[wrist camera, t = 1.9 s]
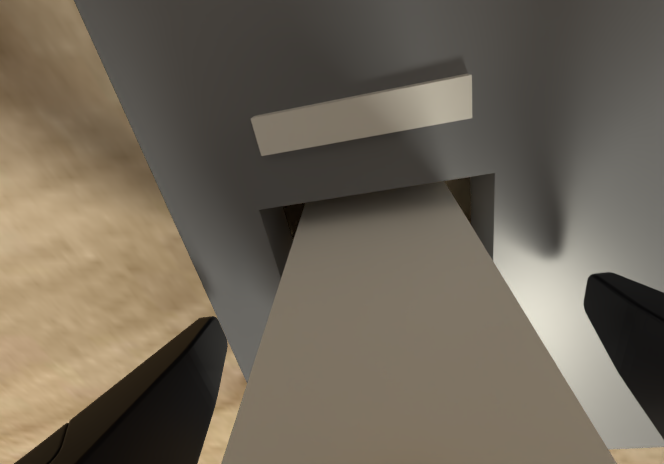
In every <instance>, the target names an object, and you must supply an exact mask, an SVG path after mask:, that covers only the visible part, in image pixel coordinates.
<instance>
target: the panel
mask: <svg viewBox="0 0 664 464" xmlns="http://www.w3.org/2000/svg"><path fill="white" fill-rule="evenodd" d="M74 2H75V4H76V6H77V8H78V10H79V13H80V15H81V17H82V19H83V21H84V24H85V26H86V28H87V30H88V32H89V35H90V37H91V39H92V41H93V44H94V46H95V48H96V50H97V52H98V55H99V57H100V59H101V61H102V63H103V66H104V68H105V70H106V72H107V74H108V77H109V79H110V81H111V83H112V86H113V88H114V90H115V92H116V94H117V97H118V99H119V101H120V103H121V105H122V108H123V110H124V112H125V114H126V116H127V119H128V121H129V123H130V125H131V128H132V130H133V132H134V134H135V136H136V139H137V141H138V143H139V145H140V147H141V150H142V152H143V154H144V156H145V158H146V161H147V163H148V165H149V167H150V170H151V172H152V174H153V176H154V178H155V181H156V183H157V185H158V187H159V189H160V192H161V194H162V196H163V198H164V200H165V203H166V205H167V207H168V209H169V212H170V214H171V216H172V218H173V220H174V223H175V225H176V227H177V229H178V231H179V234H180V236H181V238H182V240H183V242H184V245H185V247H186V249H187V251H188V253H189V256H190V258H191V260H192V262H193V265H194V267H195V269H196V271H197V273H198V276H199V278H200V280H201V282H202V284H203V287H204V289H205V291H206V293H207V295H208V298H209V300H210V302H211V304H212V307H213V309H214V311H215V313H216V315H217V318H218V320H219V322H220V324H221V326H222V329H223V331H224V333H225V335H226V337H227V340H228V342H229V344H230V346H231V349H232V351H233V353H234V355H235V357H236V360H237V362H238V364H239V366H240V368H241V371H242V373H243V375H244V377H245V379H246V382H247V383H248V380H249V376H250V373H251V370H252V367H253V364H254V361H255V358H256V355H257V352H258V349H259V345H260V342H261V339H262V336H263V333H264V330H265V327H266V324H267V321H268V317H269V314H270V311H271V308H272V305H273V302H274V299H275V296H276V293H277V290H278V286H279V283H280V280H281V277H282V274H283V271H284V268H285V265H286V262H287V258H288V255H289V252H290V249H291V246H292V243H293V240H292V237H291V233H290V230H289V226H288V222H287V219H286V215H285V212H284V208H283V206H287V205H293V204H300V203H306V202H313V201H319V200H325V199H332V198H338V197H345V196H351V195H357V194H364V193H370V192H376V191H383V190H389V189H396V188H402V187H408V186H415V185H421V184H428V183H434V182H440V181H447V180H453V179H460V178H466V177H470V190H471V226H472V227H473V229H474V231H475V232H476V234H477V236H478V237H479V239H480V241H481V242H482V244H483V245H484V247H485V249H486V250H487V252H488V254H489V255H490V257H491V259H492V260H493V262H494V263H495V265H496V267H497V268H498V270H499V272H500V273H501V275H502V277H503V278H504V280H505V281H506V283H507V285H508V286H509V288H510V290H511V291H512V293H513V295H514V296H515V298H516V299H517V301H518V303H519V304H520V306H521V308H522V309H523V311H524V313H525V314H526V316H527V317H528V319H529V321H530V322H531V324H532V326H533V327H534V329H535V331H536V332H537V334H538V335H539V337H540V339H541V340H542V342H543V344H544V345H545V347H546V349H547V350H548V352H549V353H550V355H551V357H552V358H553V360H554V362H555V363H556V365H557V367H558V368H559V370H560V371H561V373H562V375H563V376H564V378H565V380H566V381H567V383H568V385H569V386H570V388H571V389H572V391H573V393H574V394H575V396H576V398H577V399H578V401H579V402H580V404H581V406H582V407H583V409H584V411H585V412H586V414H587V416H588V417H589V419H590V420H591V422H592V424H593V425H594V427H595V429H596V430H597V432H598V434H599V435H600V437H601V438H602V440H603V442H604V443H605V445H606V447H607V448H608V449H629V448H652V447H664V439H663V438H662V437H661V435H660V434H659V432H658V431H657V429H656V428H655V426H654V425H653V423H652V422H651V421H650V419H649V418H648V416H647V415H646V413H645V412H644V410H643V409H642V407H641V406H640V405H639V403H638V402H637V400H636V399H635V397H634V396H633V394H632V393H631V391H630V390H629V388H628V387H627V386H626V384H625V383H624V381H623V379H622V378H621V376H620V375H619V373H618V371H617V370H616V368H615V366H614V365H613V363H612V361H611V359H610V357H609V355H608V353H607V352H606V350H605V348H604V346H603V344H602V342H601V341H600V339H599V337H598V335H597V333H596V331H595V329H594V328H593V326H592V324H591V322H590V320H589V318H588V316H587V315H586V312H585V310H584V304H583V303H584V296H585V290H586V284H587V279H588V277H589V276H590V275H591V274H595V273H604V272H612V273H615V274H618V275H620V276H623V277H625V278H628V279H630V280H633V281H636V282H638V283H641V284H643V285H646V286H648V287H651V288H653V289H656V290H658V291H661V292H663V293H664V0H74Z"/></svg>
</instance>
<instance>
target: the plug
mask: <svg viewBox="0 0 664 464" xmlns="http://www.w3.org/2000/svg"><path fill="white" fill-rule="evenodd" d="M221 464H617V463H616V461H615V460H614V458H613V456H612V455H611V453H610V452H609V450H608V448H607V447H606V445H605V443H604V442H603V440H602V438H601V437H600V435H599V434H598V432H597V430H596V429H595V427H594V425H593V424H592V422H591V420H590V419H589V417H588V416H587V414H586V412H585V411H584V409H583V407H582V406H581V404H580V402H579V401H578V399H577V398H576V396H575V394H574V393H573V391H572V389H571V388H570V386H569V385H568V383H567V381H566V380H565V378H564V376H563V375H562V373H561V371H560V370H559V368H558V367H557V365H556V363H555V362H554V360H553V358H552V357H551V355H550V353H549V352H548V350H547V349H546V347H545V345H544V344H543V342H542V340H541V339H540V337H539V335H538V334H537V332H536V331H535V329H534V327H533V326H532V324H531V322H530V321H529V319H528V317H527V316H526V314H525V313H524V311H523V309H522V308H521V306H520V304H519V303H518V301H517V299H516V298H515V296H514V295H513V293H512V291H511V290H510V288H509V286H508V285H507V283H506V281H505V280H504V278H503V277H502V275H501V273H500V272H499V270H498V268H497V267H496V265H495V263H494V262H493V260H492V259H491V257H490V255H489V254H488V252H487V250H486V249H485V247H484V245H483V244H482V242H481V241H480V239H479V237H478V236H477V234H476V232H475V231H474V229H473V227H472V226H471V224H470V223H469V221H468V219H467V218H466V216H465V214H464V213H463V211H462V209H461V208H460V206H459V205H458V203H457V201H456V200H455V198H454V196H453V195H452V193H451V191H450V190H449V188H448V187H447V185H446V183H445V182H444V181H440V182H434V183H428V184H421V185H415V186H408V187H402V188H396V189H389V190H383V191H376V192H370V193H364V194H357V195H351V196H345V197H338V198H332V199H325V200H319V201H313V202H306V203H305V206H304V209H303V212H302V215H301V218H300V221H299V224H298V227H297V231H296V234H295V237H294V240H293V243H292V246H291V249H290V252H289V255H288V258H287V262H286V265H285V268H284V271H283V274H282V277H281V280H280V283H279V286H278V290H277V293H276V296H275V299H274V302H273V305H272V308H271V311H270V314H269V317H268V321H267V324H266V327H265V330H264V333H263V336H262V339H261V342H260V345H259V349H258V352H257V355H256V358H255V361H254V364H253V367H252V370H251V373H250V376H249V380H248V383H247V386H246V389H245V392H244V395H243V398H242V401H241V404H240V408H239V411H238V414H237V417H236V420H235V423H234V426H233V429H232V432H231V435H230V439H229V442H228V445H227V448H226V451H225V454H224V457H223V460H222V463H221Z"/></svg>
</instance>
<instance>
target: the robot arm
mask: <svg viewBox="0 0 664 464" xmlns="http://www.w3.org/2000/svg"><path fill="white" fill-rule="evenodd" d="M583 304H584V310H585V312H586V315H587V316H588V318H589V320H590V322H591V324H592V326H593V328H594V329H595V331H596V333H597V335H598V337H599V339H600V341H601V342H602V344H603V346H604V348H605V350H606V352H607V353H608V355H609V357H610V359H611V361H612V363H613V365H614V366H615V368H616V370H617V371H618V373H619V375H620V376H621V378H622V379H623V381H624V383H625V384H626V386H627V387H628V388H629V390H630V391H631V393H632V394H633V396H634V397H635V399H636V400H637V402H638V403H639V405H640V406H641V407H642V409H643V410H644V412H645V413H646V415H647V416H648V418H649V419H650V421H651V422H652V423H653V425H654V426H655V428H656V429H657V431H658V432H659V434H660V435H661V437H662V438H663V439H664V293H663V292H661V291H658V290H656V289H653V288H651V287H648V286H646V285H643V284H641V283H638V282H636V281H633V280H630V279H628V278H625V277H623V276H620V275H618V274H615V273H612V272H604V273H595V274H591V275H590V276H589V277H588V279H587V284H586V290H585V296H584V303H583ZM226 352H227V339H226V336H225V334H224V332H223V330H222V327H221V325H220V323H219V321H218V319H217V318H216V317H213V316H212V317H203V318H199V319H198V320H196V321H195V322H194V323H193V324H191V325H190V326H189V327H188V328H186V329H185V330H184V331H183V332H181V333H180V334H179V335H177V336H176V337H175V338H174V339H172V340H171V341H170V342H169V343H167V344H166V345H165V346H164V347H162V348H161V349H160V350H158V351H157V352H156V353H155V354H153V355H152V356H151V357H150V358H148V359H147V360H146V361H145V362H143V363H142V364H141V365H139V366H138V367H137V368H136V369H134V370H133V371H132V372H131V373H129V374H128V375H127V376H126V377H124V378H123V379H122V380H120V381H119V382H118V383H117V384H115V385H114V386H113V387H112V388H110V389H109V390H108V391H107V392H105V393H104V394H103V395H101V396H100V397H99V398H98V399H96V400H95V401H94V402H93V403H91V404H90V405H89V406H88V407H86V408H85V409H84V410H82V411H81V412H80V413H79V414H77V415H76V416H75V417H74V418H72V419H71V420H70V421H69V423H66V424H65V425H63V426H62V427H61V428H60V429H58V430H57V431H56V432H55V433H53V434H52V435H51V436H50V437H48V438H47V439H46V440H44V441H43V442H42V443H40V444H39V445H38V446H37V447H35V448H34V449H33V450H31V451H30V452H29V453H27V454H26V455H25V456H24V457H22V458H21V459H20V460H18V461H17V462H15V463H14V464H197V463H198V460H199V457H200V453H201V450H202V447H203V444H204V441H205V437H206V434H207V431H208V428H209V424H210V421H211V418H212V415H213V411H214V408H215V404H216V400H217V396H218V392H219V387H220V382H221V377H222V372H223V367H224V362H225V357H226Z"/></svg>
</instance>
